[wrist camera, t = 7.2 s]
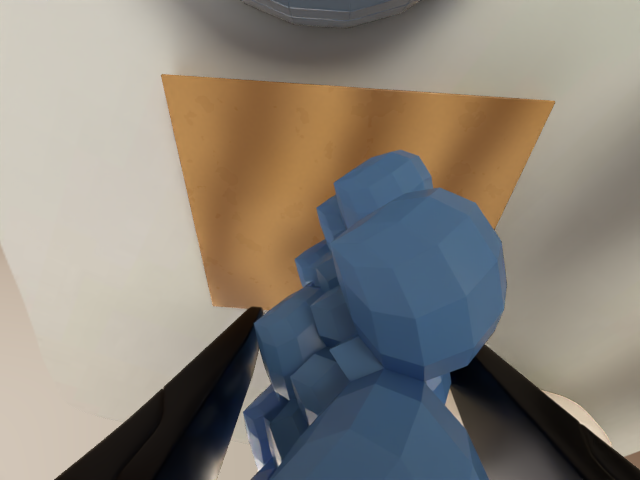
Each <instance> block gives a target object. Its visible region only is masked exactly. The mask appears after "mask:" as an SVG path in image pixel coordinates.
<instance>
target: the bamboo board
mask: <svg viewBox="0 0 640 480" xmlns="http://www.w3.org/2000/svg"><path fill="white" fill-rule="evenodd" d="M161 77H162V82H163V86H164V91H165V95H166V100H167V104H168V109H169V113H170V117H171V122H172V126H173V131H174V135H175V140H176V144H177V149H178V153H179V158H180V162H181V166H182V171H183V175H184V180H185V184H186V189H187V193H188V198H189V202H190V207H191V211H192V215H193V220H194V224H195V229H196V233H197V238H198V242H199V247H200V251H201V256H202V260H203V264H204V269H205V273H206V278H207V282H208V287H209V291H210V296H211V300H212V305H213V306H218V307H232V308H245V309H249V308H250V307H251V306H257V307H262V308H263V310H270V309H272V308H273V307H274V306H276V305H277V304H278V303H280V302H281V301H282V300H284V299H285V298H286V297H288V296H289V295H291V294H293V293H295V292H297V291H298V290H300V289H301V288H303V287H302V284H301V281H300V278H299V274H298V271H297V267H296V263H295V258H296V257H298V256H299V255H300V254H302V253H303V252H304V251H305V250H307V249H309V248H310V247H312V246H314V245H316V244H317V243H319V242H321V241H322V240H324V239H325V237H324V234H323V231H322V228H321V226H320V222H319V218H318V214H317V209H316V208H317V207H318V206H319V205H321V204H322V203H324V202H325V201H326V200H328V199H329V198H331V197H332V196H334V195H335V194H336V192H335V187H334V182H335V181H337V180H338V179H340V178H341V177H342V176H344V175H345V174H347V173H348V172H350V171H351V170H353V169H354V168H356V167H357V166H359V165H360V164H362V163H363V162H365V161H367V160H368V159H370V158H372V157H375V156H379V155H382V154H385V153H389V152H392V151H397V150H403V151H406V152H409V153H412V154H415V155H418V156H419V157H420V158H421V160H422V162H423V163H424V165H425V166H426V168H427V170H428V171H429V173H430V175H431V177H432V183H433V188H439V187H440V188H443V189H445V190H447V191H449V192H452V193H454V194H456V195H459V196H461V197H463V198H466V199H468V200H470V201H473V202H475V203H476V204H477V205H478V207H479V208H480V210H481V211H482V213H483V214H484V216H485V217H486V219H487V220H488V222H489V223H490V225H491V226H492V228H493V229H494V230H495V228H496V225H497V223H498V221H499V219H500V217H501V215H502V213H503V211H504V209H505V207H506V204H507V202H508V200H509V198H510V196H511V194H512V192H513V190H514V188H515V186H516V183H517V181H518V179H519V177H520V175H521V173H522V171H523V169H524V167H525V165H526V162H527V160H528V158H529V156H530V154H531V152H532V150H533V148H534V146H535V144H536V141H537V139H538V137H539V135H540V133H541V131H542V129H543V127H544V125H545V123H546V121H547V118H548V116H549V114H550V112H551V110H552V108H553V106H554V104H555V101H549V100H534V99H520V98H505V97H490V96H476V95H461V94H446V93H431V92H417V91H402V90H387V89H372V88H358V87H343V86H328V85H314V84H299V83H284V82H269V81H255V80H240V79H225V78H210V77H196V76H181V75H166V74H162V75H161Z"/></svg>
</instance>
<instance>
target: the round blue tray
mask: <svg viewBox="0 0 640 480" xmlns="http://www.w3.org/2000/svg"><path fill="white" fill-rule="evenodd" d="M240 1H243V2H244V4H247V5H249V6H252V7H254V8H256V9H259V10H261V11H263V12H266V13H268V14H270V15H273V16H275V17H277V18H280V19H282V20H284V21H287V22H289V23H292V24H295V25H303V26H319V27H334V28H351V27H354V26H358V25H361V24H365V23H368V22H372V21H376V20H379V19H383V18H386V17H390V16H393V15H397V14H400V13H402V12H404V11H406V10H407V9H409V8H410V7H412V6H413V5H415V4H417V3H418V2H420V1H421V0H240Z"/></svg>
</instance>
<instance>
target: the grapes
mask: <svg viewBox="0 0 640 480" xmlns="http://www.w3.org/2000/svg"><path fill="white" fill-rule="evenodd" d="M334 187H335V192H336V194H335V195H334V196H332V197H331V198H329V199H328V200H326V201H325V202H324V203H322V204H321V205H319V206H318V207H317V208H316V209H317V214H318V218H319V222H320V226H321V228H322V231H323V234H324V237H325V239H324V240H322V241H321V242H319V243H317V244H316V245H314V246H312V247H310V248H309V249H307V250H305V251H304V252H303V253H302V254H300V255H299V256H298V257H296V258H295V263H296V267H297V271H298V274H299V278H300V281H301V284H302V287H303V288H301V289H300V290H298V291H297V292H295V293H293V294H291V295H289V296H288V297H286V298H285V299H284V300H282V301H281V302H280V303H278V304H277V305H276V306H274V307H273V308H272V309H270V310H269V311H268V312H267V313H266V314H264V315H263V316H262V317H261V318H260V319H258V320H257V321H256V322H255V323H254V326H255V331H256V336H257V340H258V345H259V349H260V353H261V356H262V360H263V363H264V366H265V370H266V372H267V374H268V377H269V379H270V382H271V385H270V386H269V387H268V388H267V389H266V390H265V391H264V392H262V393H261V394H260V395H259V396H258V397H257V398H256V399H255V400H254V401H253V402H252V403H251V404H250V405H249V406H248V407H247V409H246V410H245V411H244V412H243V414H244V420H245V426H246V432H247V436H248V439H249V443H250V446H251V449H252V453H253V456H254V459H255V463H256V466H257V469H258V472H257V474H256V475H255V476H254V477H253V478H252V479H251V480H489V478H488V476H487V474H486V472H485V470H484V467H483V465H482V463H481V461H480V459H479V456H478V454H477V452H476V450H475V448H474V446H473V443H472V441H471V439H470V437H469V435H468V432H467V430H466V429H465V428H464V426H463V425H462V424H461V423H460V422H459V421H458V420H457V419H456V417H455V416H454V415H453V414H452V413H451V412H450V411H449V409H448V408H447V407H446V406H445V403H446V400H447V396H448V393H449V389H450V385H451V376H450V372H452V371H454V370H457V369H460V368H463V367H465V366H468V364H469V363H470V362H471V361H472V359H473V358H474V357H475V355H476V354H477V353H478V352H479V350H480V349H481V348H482V346H483V345H484V344H485V343H486V341H487V340H488V339H489V337H490V336H491V335H492V334H493V332H494V331H495V329H496V326H497V324H498V322H499V320H500V318H501V315H502V313H503V311H504V306H505V297H506V288H507V281H506V273H505V265H504V257H503V249H502V241H501V240H500V238H499V237H498V235H497V234H496V232H495V231H494V229H493V228H492V226H491V225H490V223H489V222H488V220H487V219H486V217H485V216H484V214H483V213H482V211H481V210H480V208H479V207H478V205H477V204H476V203H475V202H473V201H470V200H468V199H466V198H463V197H461V196H459V195H456V194H454V193H452V192H449V191H447V190H445V189H443V188H440V187H439V188H433V183H432V177H431V175H430V173H429V171H428V170H427V168H426V166H425V165H424V163H423V162H422V160H421V158H420V157H419V156H418V155H415V154H412V153H409V152H406V151H403V150H397V151H392V152H389V153H385V154H382V155H379V156H375V157H372V158H370V159H368V160H367V161H365V162H363V163H362V164H360V165H359V166H357V167H356V168H354V169H353V170H351V171H350V172H348V173H347V174H345V175H344V176H342V177H341V178H340V179H338V180H337V181H335V182H334Z"/></svg>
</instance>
